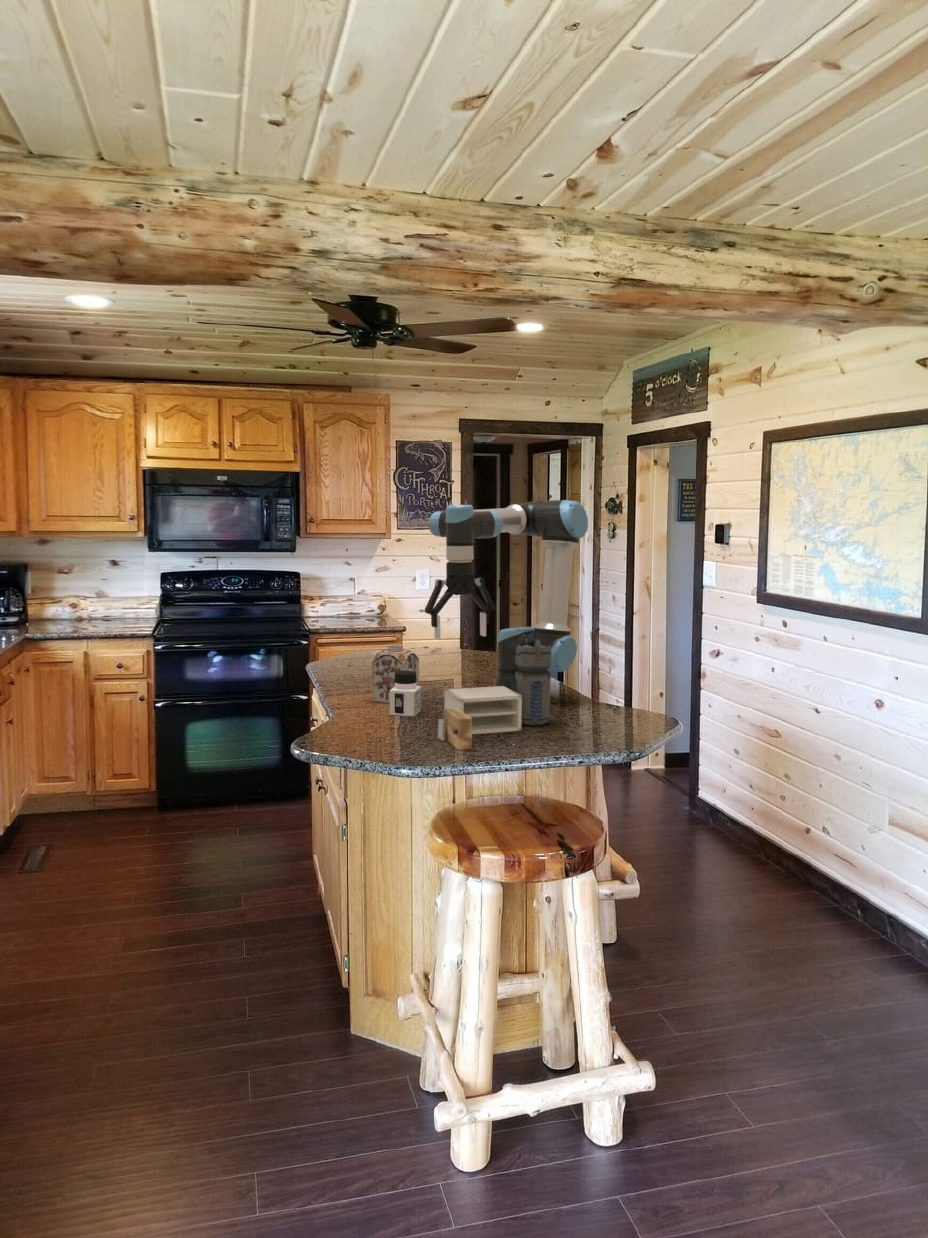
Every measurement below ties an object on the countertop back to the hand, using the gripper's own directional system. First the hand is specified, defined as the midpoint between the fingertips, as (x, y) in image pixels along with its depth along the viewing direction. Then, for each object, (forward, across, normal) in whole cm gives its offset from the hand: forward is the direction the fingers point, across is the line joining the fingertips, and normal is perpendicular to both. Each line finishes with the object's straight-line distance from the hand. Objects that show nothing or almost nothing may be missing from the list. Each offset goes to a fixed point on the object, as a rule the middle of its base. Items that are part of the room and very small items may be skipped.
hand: (460, 637), depth 240 cm
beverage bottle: (+26, -21, +2) cm, 34 cm away
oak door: (+25, +8, +18) cm, 32 cm away
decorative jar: (+26, +8, -39) cm, 48 cm away
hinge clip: (+25, +8, +12) cm, 29 cm away
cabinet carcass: (+25, -5, +3) cm, 26 cm away
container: (+26, +10, -20) cm, 34 cm away
